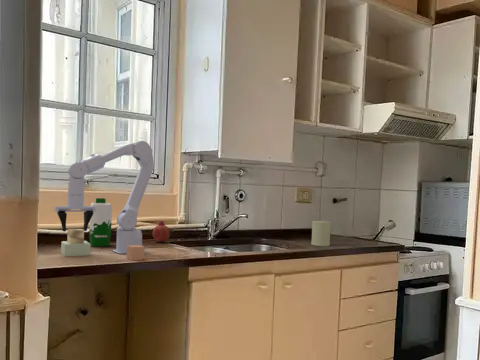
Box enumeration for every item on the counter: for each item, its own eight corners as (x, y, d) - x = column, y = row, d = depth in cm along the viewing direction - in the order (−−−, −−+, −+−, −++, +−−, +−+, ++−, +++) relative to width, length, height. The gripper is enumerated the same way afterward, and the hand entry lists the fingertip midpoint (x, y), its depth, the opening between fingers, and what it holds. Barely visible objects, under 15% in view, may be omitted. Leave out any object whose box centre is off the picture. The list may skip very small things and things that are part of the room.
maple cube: (80, 241, 176) (80, 229, 176) (83, 243, 172) (84, 230, 172) (67, 242, 174) (67, 229, 174) (70, 243, 170) (70, 230, 170)
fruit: (148, 242, 211) (149, 220, 211) (157, 240, 219) (157, 219, 219) (164, 244, 209) (165, 222, 209) (172, 242, 217) (173, 220, 217)
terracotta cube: (139, 257, 170) (139, 244, 170) (144, 259, 166) (144, 246, 166) (126, 258, 167) (127, 245, 167) (131, 260, 163) (131, 247, 163)
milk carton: (108, 243, 202) (110, 198, 202) (111, 246, 194) (113, 199, 194) (87, 244, 199) (89, 197, 199) (90, 247, 190) (92, 198, 191)
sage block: (85, 252, 179) (86, 240, 179) (90, 256, 171) (90, 243, 171) (60, 253, 175) (61, 241, 175) (64, 257, 167) (64, 244, 167)
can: (326, 246, 223) (327, 221, 223) (308, 244, 227) (309, 220, 227) (332, 244, 231) (333, 220, 231) (315, 243, 235) (315, 219, 235)
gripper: (92, 194, 181) (91, 229, 181) (53, 194, 173) (52, 230, 173) (97, 195, 175) (96, 231, 175) (57, 194, 167) (56, 232, 167)
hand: (74, 230), depth 173 cm, fingers open, 7 cm apart
